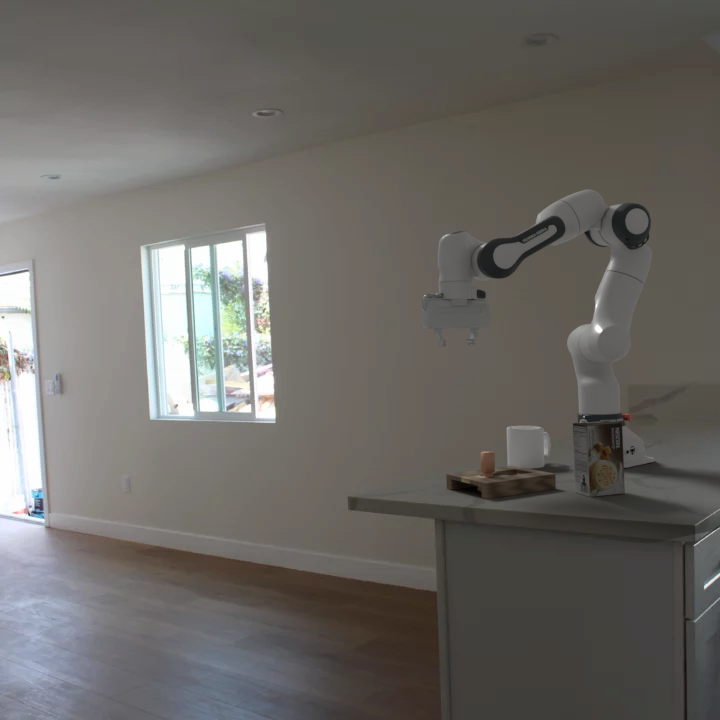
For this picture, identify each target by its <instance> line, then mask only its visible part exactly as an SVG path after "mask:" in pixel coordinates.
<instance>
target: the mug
mask: <svg viewBox="0 0 720 720" xmlns="http://www.w3.org/2000/svg"><path fill="white" fill-rule="evenodd" d="M506 448H507V449H506V453H507V454H506V457H507V460H506V461H507V466H517V467H522V468H527V469H539V468H544V467H545V464H546V463H545V460H546V459H545V458H547V457H550V453H551V438H550V435H549V433H548V432H547V431H545V429H544V427H543V426H539V425H513V426H507V427H506Z"/></svg>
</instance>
